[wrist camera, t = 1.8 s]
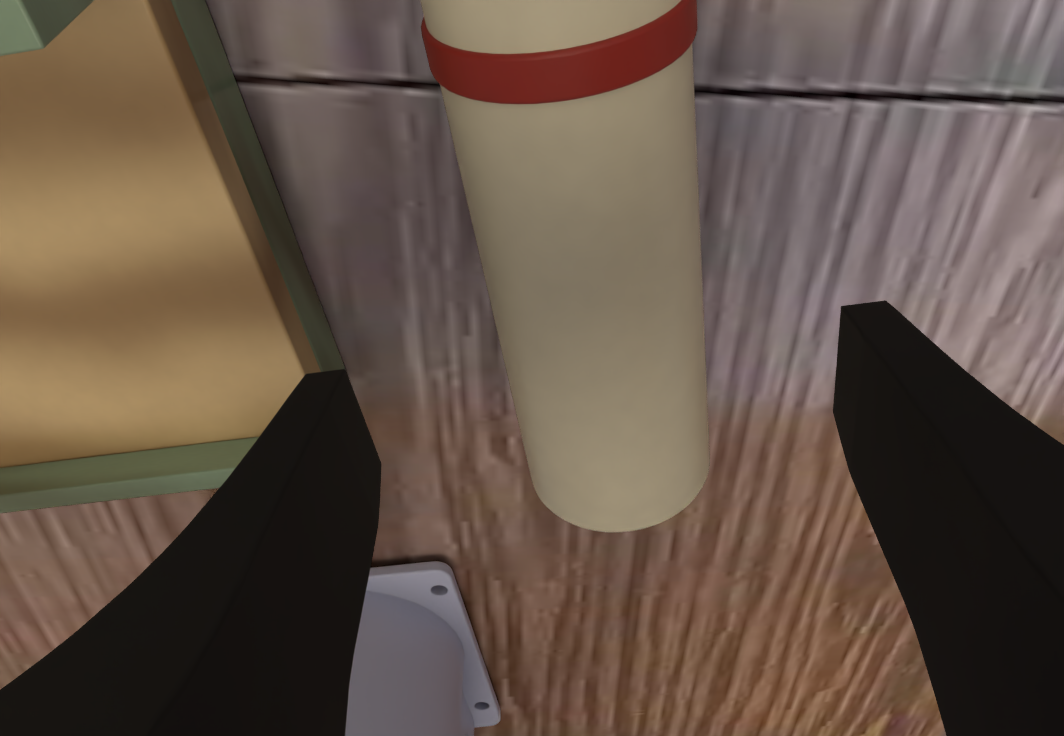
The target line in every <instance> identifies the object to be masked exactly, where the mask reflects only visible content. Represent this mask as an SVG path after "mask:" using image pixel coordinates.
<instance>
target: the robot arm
mask: <svg viewBox="0 0 1064 736" xmlns="http://www.w3.org/2000/svg"><path fill="white" fill-rule="evenodd" d="M833 413H834V417H835V421H836V425H837V429H838V432H839V436H840V440H841V444H842V447H843V451H844V454H845V458H846V461H847V465H848V468H849V472H850V474H851V477H852V479H853V482H854V484H855V487H856V489H857V492H858V494H859V496H860V499H861V501H862V503H863V506H864V508H865V511H866V513H867V515H868V518H869V520H870V522H871V525H872V527H873V529H874V532H875V534H876V537H877V539H878V541H879V544H880V546H881V548H882V551H883V553H884V555H885V558H886V560H887V562H888V565H889V567H890V569H891V572H892V574H893V576H894V579H895V581H896V583H897V586H898V588H899V590H900V593H901V595H902V597H903V600H904V602H905V605H906V607H907V610H908V613H909V615H910V618H911V621H912V623H913V626H914V629H915V631H916V634H917V638H918V641H919V644H920V648H921V651H922V654H923V657H924V661H925V664H926V667H927V670H928V674H929V677H930V680H931V684H932V687H933V690H934V693H935V697H936V700H937V704H938V707H939V711H940V714H941V718H942V721H943V725H944V728H945V732H946V735H947V736H1064V445H1063V444H1061V443H1060V442H1058V441H1057V440H1055V439H1054V438H1052V437H1051V436H1050V435H1048V434H1047V433H1045V432H1044V431H1043V430H1041V429H1040V428H1038V427H1037V426H1036V425H1034V424H1033V423H1032V422H1030V421H1029V420H1027V419H1026V418H1025V417H1023V416H1022V415H1020V414H1019V413H1018V412H1016V411H1015V410H1014V409H1012V408H1011V407H1010V406H1009V405H1007V404H1006V403H1005V402H1003V401H1002V400H1001V399H1000V398H998V397H997V396H996V395H995V394H993V393H992V392H991V391H990V390H988V389H987V388H986V387H985V386H984V385H982V384H981V383H980V382H979V381H977V380H976V379H975V378H974V377H973V376H971V375H970V374H969V373H968V372H966V371H965V370H964V369H963V368H962V367H961V366H959V365H958V364H957V363H956V362H955V361H954V360H952V359H951V358H950V357H949V356H948V355H947V354H946V353H944V352H943V351H942V350H941V349H940V348H939V347H938V346H936V345H935V344H934V343H933V342H932V341H931V340H930V339H929V338H927V337H926V336H925V335H924V334H923V333H922V332H921V331H920V330H919V329H917V328H916V327H915V326H914V325H913V324H912V323H911V322H910V321H909V320H907V319H906V318H905V317H904V316H903V315H902V314H901V313H900V312H899V311H897V310H896V309H895V308H894V307H893V306H892V305H890V304H889V303H888V302H887V301H878V302H870V303H863V304H855V305H847V306H841V315H840V328H839V341H838V354H837V367H836V380H835V393H834V405H833ZM380 487H381V461H380V459H379V456H378V453H377V451H376V448H375V446H374V443H373V440H372V438H371V435H370V432H369V430H368V427H367V425H366V422H365V419H364V417H363V414H362V412H361V409H360V406H359V404H358V401H357V398H356V396H355V393H354V391H353V388H352V385H351V383H350V380H349V377H348V375H347V372H346V370H345V369H340V370H332V371H324V372H316V373H308V374H305V376H304V377H303V378H302V379H301V381H300V382H299V383H298V385H297V386H296V387H295V389H294V390H293V391H292V393H291V394H290V395H289V397H288V398H287V399H286V401H285V402H284V404H283V405H282V406H281V408H280V409H279V410H278V412H277V413H276V414H275V416H274V417H273V419H272V420H271V421H270V423H269V424H268V425H267V427H266V428H265V430H264V431H263V432H262V434H261V435H260V436H259V438H258V439H257V440H256V442H255V443H254V444H253V446H252V447H251V448H250V450H249V451H248V452H247V454H246V455H245V456H244V457H243V459H242V460H241V461H240V463H239V464H238V465H237V467H236V468H235V469H234V471H233V472H232V473H231V474H230V476H229V477H228V478H227V480H226V481H225V482H224V483H223V484H222V486H221V487H220V488H219V489H218V490H217V492H216V493H215V494H214V495H213V496H212V498H211V499H210V500H209V501H208V502H207V503H206V505H205V506H204V507H203V508H202V509H201V511H200V512H199V513H198V514H197V515H196V517H195V518H194V519H193V520H192V521H191V522H190V524H189V525H188V526H187V527H186V528H185V529H184V530H183V531H182V532H181V534H180V535H179V536H178V537H177V538H176V539H175V540H174V541H173V542H172V543H171V544H170V545H169V546H168V547H167V548H166V549H165V551H164V552H163V553H162V554H161V555H160V556H159V557H158V558H157V559H155V560H154V561H153V562H152V563H151V564H150V565H149V566H148V567H147V568H146V569H145V570H144V571H143V572H142V573H141V574H140V575H139V576H138V577H137V578H136V579H135V580H134V581H133V582H132V583H131V584H130V585H129V586H128V587H127V588H126V589H124V590H123V591H122V592H121V593H120V594H119V595H118V596H116V597H115V598H114V599H113V600H112V601H111V602H110V603H108V604H107V605H106V606H105V607H104V608H103V609H102V610H100V611H99V612H98V613H97V614H96V615H95V616H94V617H93V618H91V619H90V620H89V621H88V622H87V623H86V624H85V625H83V626H82V627H81V628H80V629H79V630H78V631H76V632H75V633H74V634H73V635H72V636H70V637H69V638H68V639H67V640H65V641H64V642H63V643H62V644H60V645H59V646H58V647H57V648H55V649H54V650H53V651H51V652H50V653H49V654H48V655H46V656H45V657H44V658H43V659H41V660H40V661H39V662H37V663H36V664H35V665H33V666H32V667H31V668H29V669H28V670H27V671H25V672H24V673H23V674H21V675H20V676H18V677H17V678H16V679H14V680H13V681H12V682H10V683H9V684H8V685H6V686H5V687H3V688H2V689H1V690H0V736H474V727H485V726H493V725H495V724H497V723H498V722H499V721H500V716H501V710H500V707H499V704H498V701H497V698H496V695H495V692H494V689H493V686H492V684H491V681H490V678H489V675H488V672H487V669H486V666H485V663H484V660H483V658H482V655H481V652H480V649H479V646H478V643H477V640H476V637H475V634H474V631H473V629H472V626H471V623H470V620H469V617H468V614H467V611H466V608H465V605H464V603H463V600H462V597H461V594H460V591H459V588H458V585H457V582H456V579H455V577H454V574H453V571H452V569H451V567H450V566H449V565H447V564H446V563H443V562H440V561H430V562H421V563H411V564H402V565H392V566H383V567H373V568H370V567H371V562H372V557H373V551H374V546H375V540H376V535H377V529H378V521H379V506H380Z"/></svg>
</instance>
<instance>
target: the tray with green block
mask: <svg viewBox="0 0 1064 736" xmlns="http://www.w3.org/2000/svg"><path fill="white" fill-rule="evenodd" d="M340 369H345V367H344V364H343V362H342V359H341V357H340V354H339V351H338V349H337V346H336V343H335V341H334V338H333V336H332V333H331V330H330V328H329V325H328V322H327V320H326V317H325V315H324V312H323V309H322V307H321V304H320V301H319V299H318V296H317V294H316V291H315V288H314V286H313V283H312V280H311V278H310V275H309V273H308V270H307V267H306V265H305V262H304V259H303V257H302V254H301V251H300V249H299V246H298V244H297V241H296V238H295V236H294V233H293V230H292V228H291V225H290V223H289V220H288V217H287V215H286V212H285V209H284V207H283V204H282V202H281V199H280V196H279V194H278V191H277V188H276V186H275V183H274V181H273V178H272V175H271V173H270V170H269V167H268V165H267V162H266V160H265V157H264V154H263V152H262V149H261V146H260V144H259V141H258V139H257V136H256V133H255V131H254V128H253V125H252V123H251V120H250V118H249V115H248V112H247V110H246V107H245V104H244V102H243V99H242V96H241V94H240V91H239V89H238V86H237V83H236V81H235V78H234V75H233V73H232V70H231V68H230V65H229V62H228V60H227V57H226V54H225V52H224V49H223V47H222V44H221V41H220V39H219V36H218V33H217V31H216V28H215V26H214V23H213V20H212V18H211V15H210V12H209V10H208V7H207V5H206V2H205V0H0V513H7V512H15V511H24V510H33V509H41V508H50V507H59V506H67V505H76V504H85V503H93V502H102V501H111V500H119V499H128V498H137V497H145V496H154V495H162V494H171V493H180V492H188V491H197V490H206V489H214V488H220V487H221V486H222V484H223V483H224V482H225V481H226V480H227V478H228V477H229V476H230V474H231V473H232V472H233V471H234V469H235V468H236V467H237V465H238V464H239V463H240V461H241V460H242V459H243V457H244V456H245V455H246V454H247V452H248V451H249V450H250V448H251V447H252V446H253V444H254V443H255V442H256V440H257V439H258V438H259V436H260V435H261V434H262V432H263V431H264V430H265V428H266V427H267V425H268V424H269V423H270V421H271V420H272V419H273V417H274V416H275V414H276V413H277V412H278V410H279V409H280V408H281V406H282V405H283V404H284V402H285V401H286V399H287V398H288V397H289V395H290V394H291V393H292V391H293V390H294V389H295V387H296V386H297V385H298V383H299V382H300V381H301V379H302V378H303V377H304V376H305V374H308V373H316V372H324V371H332V370H340Z"/></svg>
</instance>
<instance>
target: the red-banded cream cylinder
mask: <svg viewBox="0 0 1064 736" xmlns="http://www.w3.org/2000/svg"><path fill="white" fill-rule="evenodd" d="M420 1H421V6H422V10H423V14H424V17H423V21H422V25H421V30H422V37H423V41H424V45H425V49H426V53H427V58H428V62H429V66H430V70H431V72H432V74H433V77H434V78H435V79H436V80H437V81H438V83H439V84H440V87H441V92H442V96H443V100H444V105H445V109H446V113H447V118H448V122H449V126H450V130H451V135H452V139H453V143H454V148H455V152H456V156H457V161H458V165H459V169H460V173H461V178H462V182H463V186H464V191H465V195H466V199H467V204H468V208H469V212H470V217H471V221H472V225H473V229H474V234H475V238H476V242H477V247H478V251H479V255H480V260H481V264H482V268H483V272H484V277H485V281H486V285H487V290H488V294H489V298H490V303H491V307H492V311H493V316H494V320H495V324H496V328H497V333H498V337H499V341H500V346H501V350H502V354H503V359H504V363H505V367H506V371H507V376H508V380H509V384H510V389H511V393H512V397H513V402H514V406H515V410H516V415H517V419H518V423H519V427H520V432H521V436H522V440H523V445H524V449H525V453H526V458H527V462H528V466H529V470H530V475H531V479H532V483H533V486H534V489H535V491H536V493H537V495H538V496H539V498H540V499H541V501H542V502H543V503H544V504H545V506H546V507H548V508H549V509H550V510H551V511H552V512H553V513H554V514H556V515H557V516H559V517H560V518H561V519H563V520H565V521H567V522H569V523H571V524H573V525H576V526H579V527H582V528H585V529H589V530H594V531H601V532H628V531H635V530H640V529H645V528H648V527H651V526H654V525H657V524H659V523H661V522H664V521H666V520H668V519H670V518H671V517H673V516H675V515H676V514H678V513H679V512H680V511H682V510H683V509H684V508H686V507H687V506H688V505H689V504H690V503H691V502H692V501H693V500H694V498H695V497H696V496H697V495H698V493H699V492H700V490H701V489H702V487H703V485H704V483H705V481H706V478H707V475H708V472H709V466H710V452H709V428H708V405H707V381H706V357H705V334H704V310H703V286H702V263H701V239H700V215H699V192H698V168H697V145H696V121H695V97H694V74H693V50H692V42H693V41H694V38H695V35H696V32H697V0H420Z"/></svg>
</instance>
